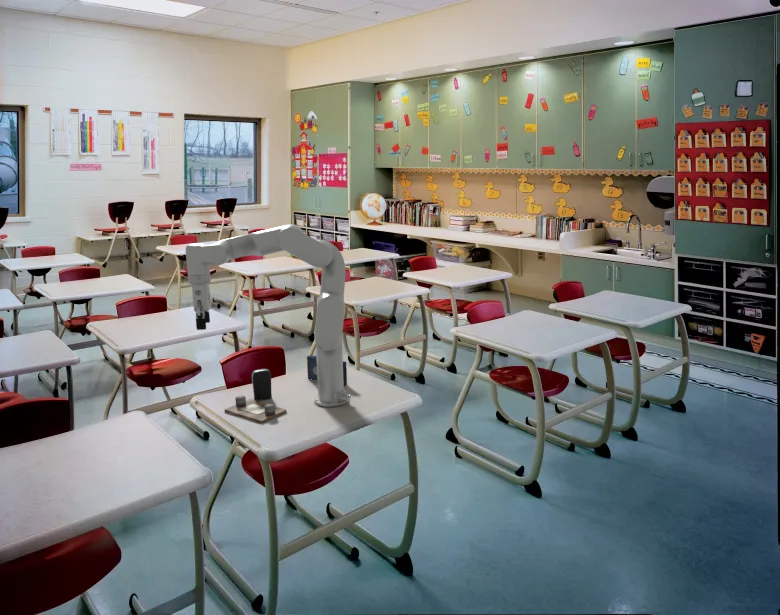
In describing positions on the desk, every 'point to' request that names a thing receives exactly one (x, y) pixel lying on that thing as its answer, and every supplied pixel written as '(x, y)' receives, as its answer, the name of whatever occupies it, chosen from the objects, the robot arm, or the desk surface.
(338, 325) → the robot arm
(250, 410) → the collar board
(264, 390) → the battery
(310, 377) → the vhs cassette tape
